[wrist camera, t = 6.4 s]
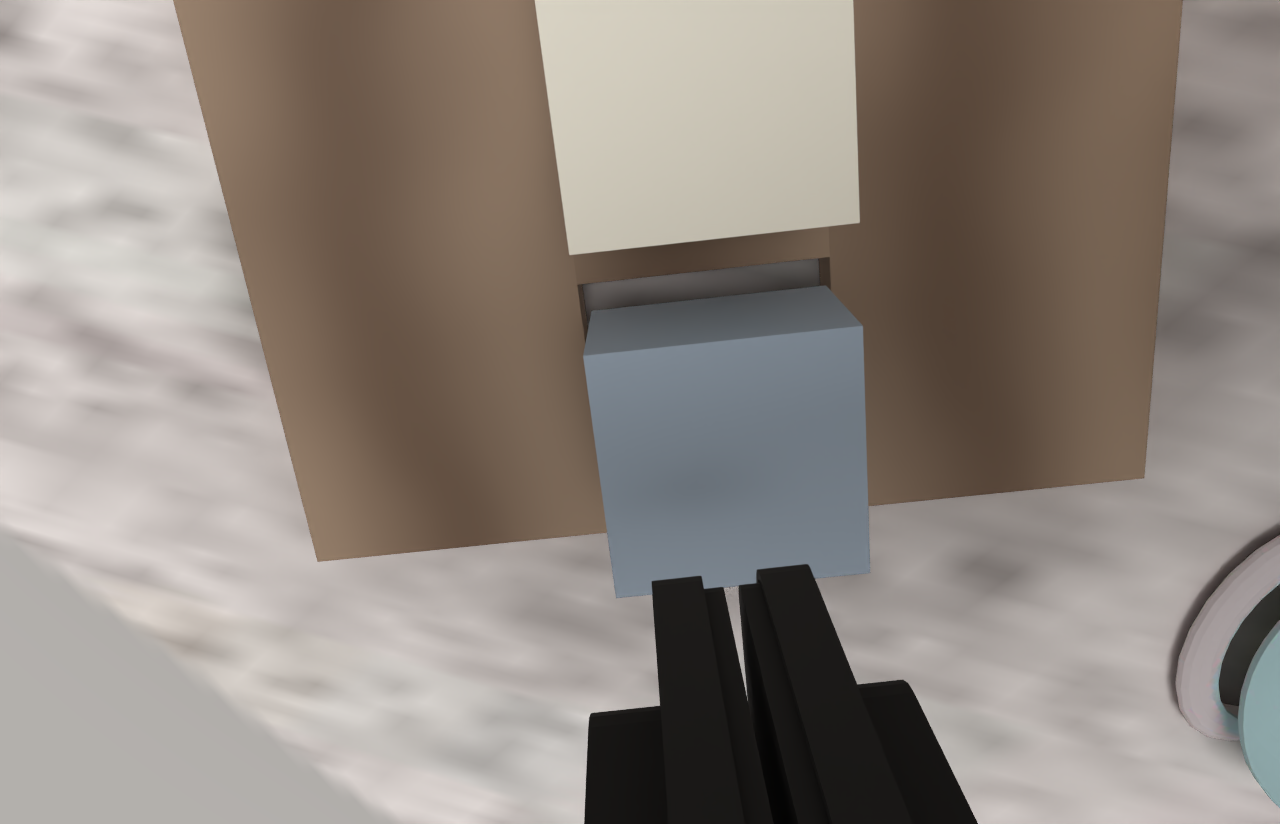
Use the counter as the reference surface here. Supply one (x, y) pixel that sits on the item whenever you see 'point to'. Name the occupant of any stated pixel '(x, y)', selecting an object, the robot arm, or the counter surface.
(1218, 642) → the pacifier
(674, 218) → the cream cube
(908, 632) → the counter surface
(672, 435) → the blue cube
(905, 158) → the walnut board
